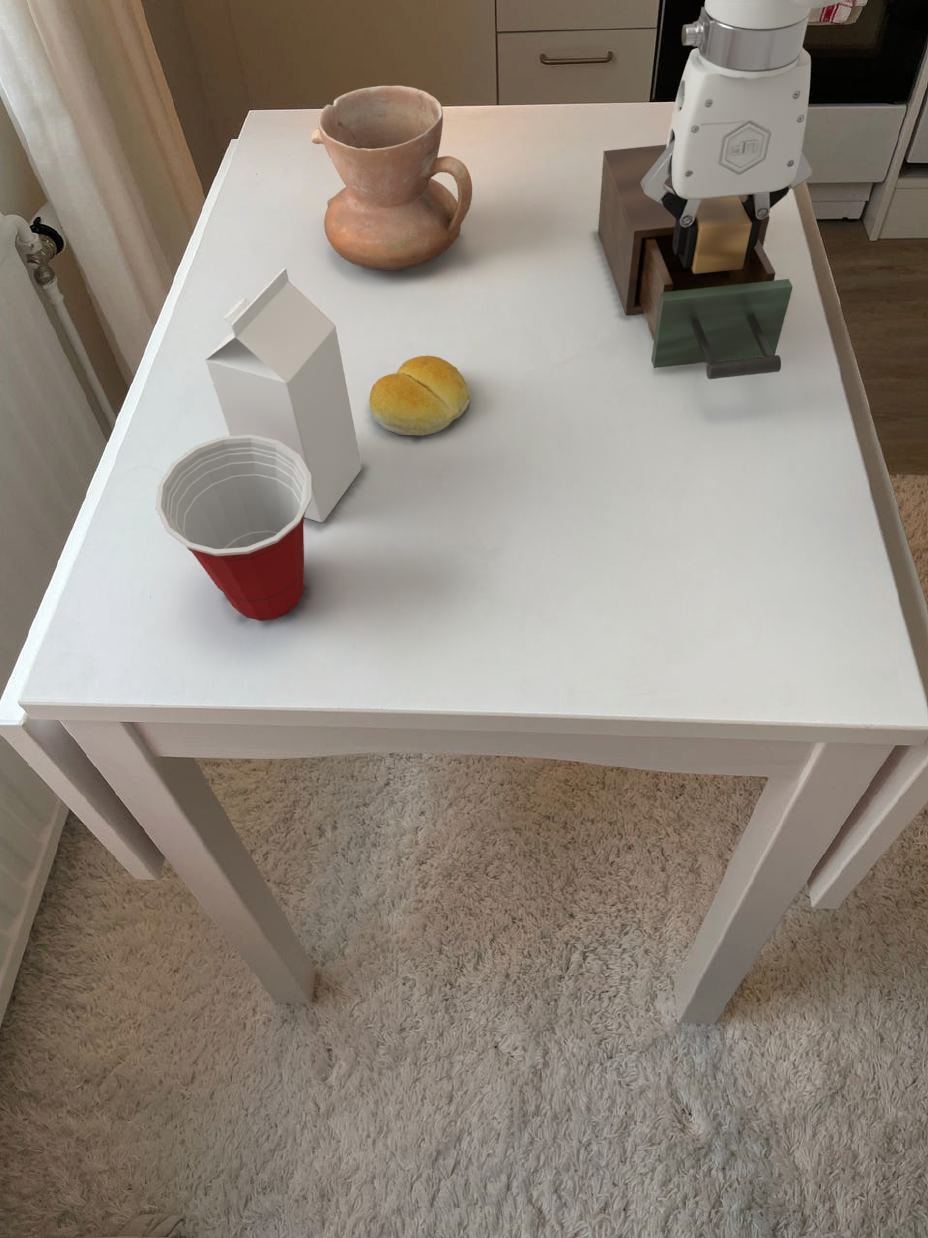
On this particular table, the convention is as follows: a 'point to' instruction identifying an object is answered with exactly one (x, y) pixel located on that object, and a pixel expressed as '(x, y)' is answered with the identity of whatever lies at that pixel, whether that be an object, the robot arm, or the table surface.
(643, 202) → the cabinet
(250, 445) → the plastic cup
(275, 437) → the milk carton
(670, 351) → the drawer
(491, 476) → the table surface
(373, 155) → the ceramic jug
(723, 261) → the block
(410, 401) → the bread roll
